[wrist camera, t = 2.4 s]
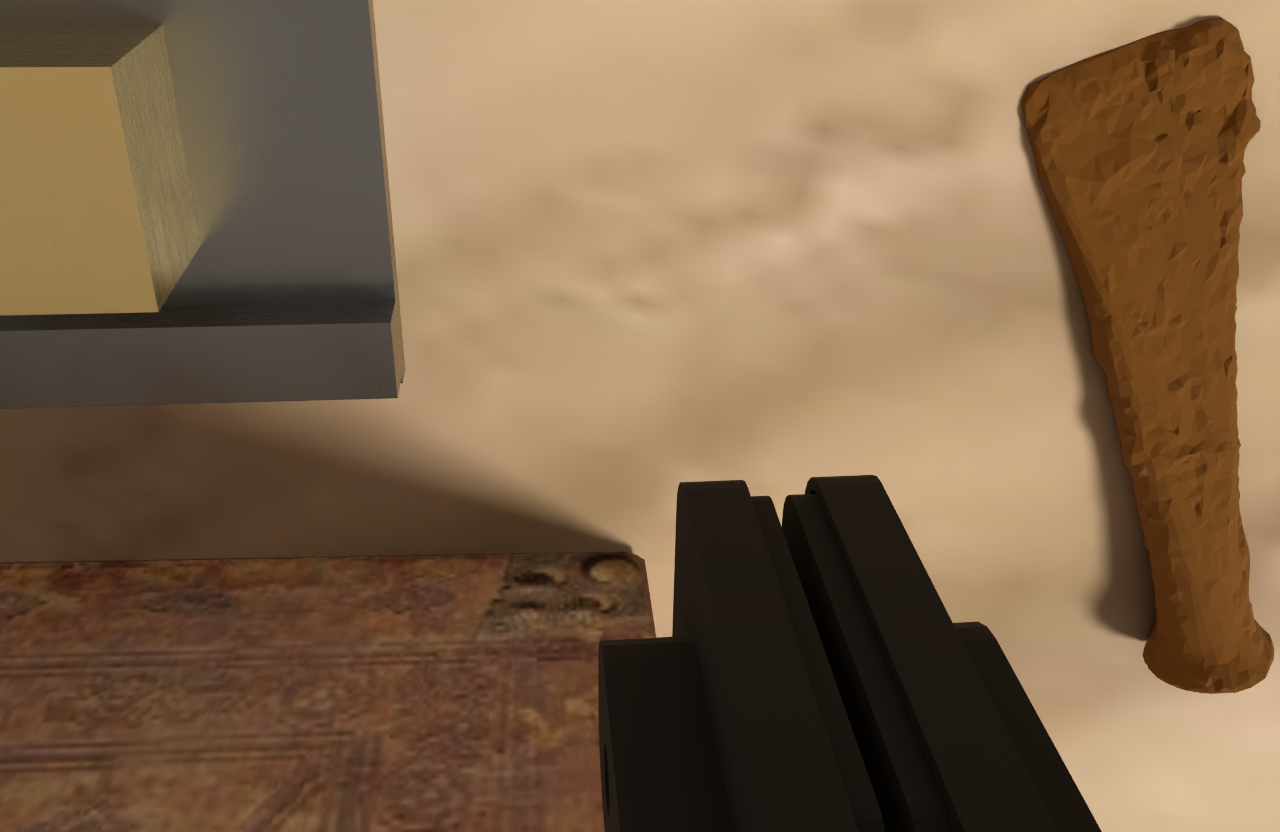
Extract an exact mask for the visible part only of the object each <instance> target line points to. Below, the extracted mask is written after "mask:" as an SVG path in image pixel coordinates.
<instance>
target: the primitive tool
mask: <svg viewBox="0 0 1280 832" xmlns="http://www.w3.org/2000/svg"><path fill="white" fill-rule="evenodd" d="M1253 83H1254V76H1253V70H1252V64H1251V58H1250V56H1249V55H1248V54H1247V53H1246V52H1245V51H1244V48H1243V44H1242V41H1241V38H1240V35H1239V31H1238V29H1237V28H1236V27H1235V26H1233V25H1232V24H1231V23H1229V22H1227V21H1225V20H1224V19H1223V18H1220V19H1208V20H1205V21H1202V22H1197V23H1195V24H1193V25H1191V26H1189V27H1186V28H1183V29H1174V30H1170V31H1167V32H1162V33H1156V34H1153V35H1150V36H1148V37H1145V38H1142V39H1140V40H1137V41H1135V42H1133V43H1131V44H1128V45H1127V46H1123V47H1119V48H1116V49H1114V50H1111V51H1107V52H1104V53H1102V54H1099V55H1096V56H1093V57H1091V58H1088V59H1085V60H1083V61H1081V62H1079V63H1076V64H1074V65H1072V66H1070V67H1067V68H1065V69H1063V70H1061V71H1059V72H1057V73H1055V74H1053V75H1051V76H1049V77H1047V78H1045V79H1043V80H1042V81H1039V82H1036V83H1034V84H1032V85H1030V86H1029V87H1028V88H1027V91H1026V93H1025V95H1024V98H1023V100H1022V108H1023V111H1024V115H1025V127H1026V129H1027V131H1028V135H1029V139H1030V144H1031V147H1032V150H1033V153H1034V157H1035V161H1036V166H1037V172H1038V177H1039V178H1040V180H1041V183H1042V186H1043V189H1044V191H1045V194H1046V196H1047V199H1048V202H1049V205H1050V207H1051V210H1052V213H1053V216H1054V218H1055V221H1056V224H1057V227H1058V229H1059V232H1060V234H1061V236H1062V238H1063V241H1064V243H1065V246H1066V248H1067V252H1068V255H1069V258H1070V261H1071V264H1072V266H1073V268H1074V271H1075V273H1076V276H1077V280H1078V283H1079V286H1080V289H1081V292H1082V295H1083V298H1084V301H1085V306H1086V310H1087V315H1088V319H1089V323H1090V327H1091V338H1092V351H1093V354H1094V356H1095V358H1096V361H1097V363H1098V364H1099V365H1100V366H1101V367H1102V368H1103V370H1104V372H1105V374H1106V377H1107V384H1108V388H1107V390H1108V393H1109V396H1110V400H1111V402H1112V405H1113V409H1114V415H1115V421H1116V424H1117V428H1118V431H1119V436H1120V441H1121V447H1122V451H1123V463H1124V464H1125V465H1126V466H1127V467H1128V469H1129V471H1130V474H1131V478H1132V481H1133V488H1134V496H1135V499H1136V502H1137V505H1138V514H1139V518H1140V520H1141V523H1142V530H1143V532H1144V534H1145V548H1146V549H1147V550H1148V552H1149V555H1150V564H1151V569H1152V574H1151V577H1152V580H1153V584H1154V590H1155V604H1156V611H1157V622H1156V624H1155V625H1154V626H1153V630H1152V634H1151V636H1150V637H1149V639H1148V640H1147V642H1146V645H1145V647H1144V652H1143V658H1144V661H1145V663H1146V664H1147V665H1148V668H1149V669H1150V671H1151V672H1152V673H1153V674H1154V675H1155V676H1156V677H1157V678H1159V679H1161V680H1162V681H1164V682H1166V683H1168V684H1170V685H1172V686H1175V687H1177V688H1180V689H1183V690H1188V691H1193V692H1199V693H1209V694H1214V693H1236V692H1239V691H1242V690H1245V689H1248V688H1251V687H1252V686H1254V685H1256V684H1257V683H1259V682H1260V681H1262V680H1263V679H1265V678H1266V676H1267V673H1268V671H1269V669H1270V666H1271V664H1272V662H1273V660H1274V647H1273V643H1272V640H1271V637H1270V635H1269V634H1268V633H1267V632H1266V631H1265V630H1264V629H1263V628H1262V627H1261V626H1260V625H1259V624H1258V623H1257V622H1256V620H1255V619H1254V617H1253V611H1252V605H1251V603H1250V601H1249V572H1250V555H1249V548H1248V544H1247V541H1246V538H1245V534H1244V530H1243V526H1242V519H1241V515H1240V510H1239V498H1240V493H1239V489H1238V485H1239V477H1238V465H1239V448H1240V446H1241V445H1240V442H1239V439H1238V428H1237V404H1236V402H1237V389H1236V384H1235V382H1236V375H1237V361H1236V360H1237V356H1236V351H1235V332H1236V323H1235V313H1236V308H1237V307H1236V302H1237V297H1236V285H1237V280H1238V276H1239V265H1238V245H1239V237H1240V234H1239V227H1240V223H1241V220H1242V216H1243V203H1242V194H1241V190H1242V177H1243V175H1244V174H1245V172H1246V171H1245V167H1244V163H1243V159H1244V151H1245V148H1246V146H1247V144H1248V142H1249V141H1250V140H1251V139H1252V138H1253V136H1254V135H1255V134H1256V133H1257V132H1258V131H1259V130H1260V120H1259V119H1258V117H1257V116H1256V108H1255V106H1254V104H1253V102H1252V86H1253Z"/></svg>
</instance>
